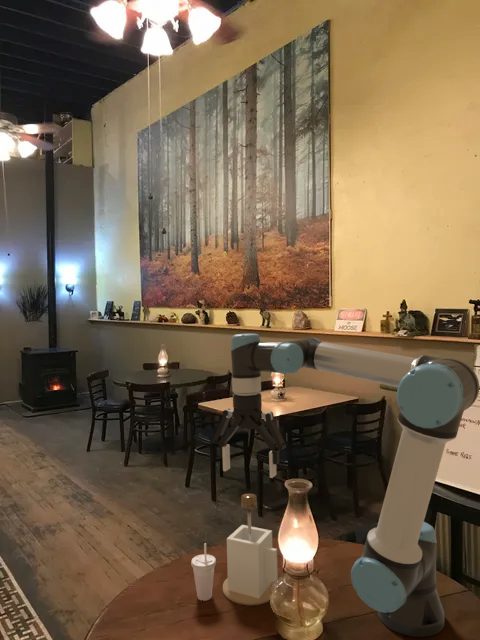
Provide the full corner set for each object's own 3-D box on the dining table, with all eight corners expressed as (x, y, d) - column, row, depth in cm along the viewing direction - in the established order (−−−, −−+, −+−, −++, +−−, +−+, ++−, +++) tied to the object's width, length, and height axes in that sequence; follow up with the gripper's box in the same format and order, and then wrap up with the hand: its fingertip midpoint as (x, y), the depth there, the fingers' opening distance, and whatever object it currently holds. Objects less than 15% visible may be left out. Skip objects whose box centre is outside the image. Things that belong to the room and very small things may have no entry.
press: (287, 580, 139) (286, 528, 139) (265, 611, 126) (263, 553, 125) (238, 568, 146) (237, 518, 145) (212, 596, 133) (211, 541, 132)
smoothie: (213, 605, 129) (211, 550, 128) (189, 602, 130) (187, 548, 130) (219, 590, 135) (218, 538, 135) (196, 588, 136) (194, 537, 136)
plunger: (265, 574, 137) (263, 494, 136) (255, 585, 132) (254, 502, 131) (245, 569, 140) (243, 491, 139) (236, 580, 134) (234, 498, 134)
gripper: (296, 392, 131) (299, 474, 132) (212, 388, 143) (215, 463, 143) (286, 398, 125) (288, 483, 125) (198, 392, 136) (201, 471, 137)
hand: (249, 473), depth 134 cm, fingers open, 13 cm apart
